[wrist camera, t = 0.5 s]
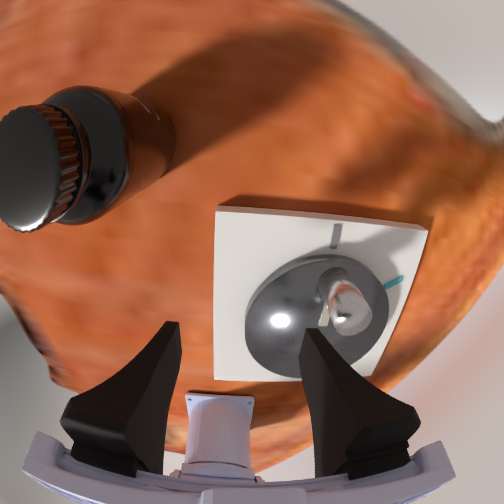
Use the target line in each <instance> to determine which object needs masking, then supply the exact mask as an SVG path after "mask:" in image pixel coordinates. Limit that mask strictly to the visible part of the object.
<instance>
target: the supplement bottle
mask: <svg viewBox="0 0 504 504" xmlns="http://www.w3.org/2000/svg"><path fill="white" fill-rule="evenodd" d="M174 149H175V133H174V128H173V125H172V122H171V120H170V118H169V117H168V115H167V114H166V112H165V111H164V110H163V109H162V108H161V107H160V106H158V105H157V104H155V103H154V102H152V101H150V100H147V99H144V98H140V97H137V96H133V95H129V94H125V93H121V92H116V91H112V90H107V89H103V88H98V87H92V86H72V87H68V88H65V89H62V90H60V91H58V92H56V93H55V94H53V95H51V96H50V97H49V98H47V99H46V100H45V101H44V102H43V103H42V104H39V105H29V106H20V107H18V108H17V109H15V110H11V111H10V112H9V114H8V115H5V116H4V117H3V119H2V120H1V121H0V218H1V220H2V221H3V222H5V223H6V224H7V225H8V227H12V228H13V229H14V230H15V231H18V230H19V231H20V232H22V233H25V232H33V231H35V230H39V229H41V228H43V227H44V226H46V225H48V224H50V223H54V222H57V223H60V224H64V225H74V226H76V225H83V224H87V223H90V222H92V221H94V220H96V219H98V218H100V217H102V216H103V215H105V214H106V213H108V212H109V211H111V210H112V209H114V208H115V207H117V206H118V205H120V204H121V203H123V202H124V201H126V200H127V199H129V198H131V197H132V196H134V195H135V194H137V193H138V192H140V191H142V190H143V189H145V188H146V187H148V186H149V185H151V184H152V183H154V182H155V181H156V180H158V179H159V178H160V177H161V176H162V175H163V173H164V172H165V171H166V169H167V168H168V166H169V164H170V162H171V160H172V157H173V154H174Z"/></svg>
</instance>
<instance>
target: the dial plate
mask: <svg viewBox="0 0 504 504" xmlns="http://www.w3.org/2000/svg"><path fill="white" fill-rule="evenodd" d="M427 235H428V230H426V229H425V228H423V227H422V226H420V225H417V224H410V223H402V222H395V221H387V220H379V219H371V218H363V217H354V216H345V215H335V214H325V213H315V212H304V211H292V210H280V209H267V208H253V207H237V206H220V205H217V209H216V215H215V245H214V312H213V328H214V380H231V381H268V382H276V381H302V378H290V377H285V376H281V375H278V374H275V373H273V372H271V371H268V370H267V369H265V368H264V367H262V366H261V365H260V364H259V363H257V362H256V360H255V359H254V358H253V357H252V355H251V354H250V352H249V350H248V348H247V345H246V341H245V312H246V308H247V305H248V303H249V301H250V299H251V297H252V295H253V293H254V292H255V290H256V289H257V288H258V286H259V285H260V284H261V283H262V282H263V281H264V280H265V279H266V278H267V277H269V276H270V275H271V274H272V273H273V272H275V271H276V270H278V269H280V268H281V267H283V266H285V265H287V264H289V263H291V262H293V261H296V260H299V259H301V258H305V257H309V256H314V255H322V254H333V255H341V256H345V257H349V258H352V259H354V260H357V261H359V262H361V263H362V264H364V265H365V266H367V267H368V268H369V269H370V270H371V271H372V272H373V273H374V275H375V276H376V277H377V279H378V280H379V281H380V283H381V284H382V285H383V287H384V289H385V291H386V293H387V296H388V300H389V316H388V321H387V324H386V327H385V329H384V331H383V333H382V335H381V337H380V338H379V340H378V341H377V343H376V344H375V345H374V346H373V348H372V349H371V350H370V351H369V352H368V353H367V354H365V355H364V356H363V357H362V358H361V359H359V360H358V361H356V362H355V363H353V364H352V365H350V366H351V367H352V368H353V369H354V370H355V371H356V372H358V373H359V374H360V375H361V376H362V377H363V376H371V375H372V373H373V371H374V369H375V367H376V365H377V363H378V361H379V359H380V357H381V355H382V353H383V351H384V349H385V347H386V345H387V343H388V341H389V338H390V336H391V334H392V332H393V330H394V327H395V325H396V323H397V320H398V318H399V316H400V313H401V311H402V308H403V306H404V303H405V301H406V298H407V296H408V293H409V290H410V288H411V285H412V282H413V279H414V276H415V273H416V270H417V268H418V264H419V261H420V258H421V255H422V252H423V249H424V245H425V242H426V238H427Z"/></svg>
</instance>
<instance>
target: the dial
mask: <svg viewBox="0 0 504 504" xmlns="http://www.w3.org/2000/svg"><path fill="white" fill-rule="evenodd" d="M388 316H389V300H388V296H387V293H386V291H385V289H384V287H383V285H382V284H381V283H380V281H379V280H378V279H377V277H376V276H375V275H374V273H373V272H372V271H371V270H370V269H369V268H368V267H367V266H365V265H364V264H362V263H361V262H359V261H357V260H354V259H352V258H349V257H345V256H341V255H333V254H322V255H314V256H309V257H305V258H301V259H299V260H296V261H293V262H291V263H289V264H287V265H285V266H283V267H281V268H280V269H278V270H276V271H275V272H273V273H272V274H271V275H270V276H269V277H267V278H266V279H265V280H264V281H263V282H262V283H261V284H260V285H259V286H258V288H257V289H256V290H255V292H254V293H253V295H252V297H251V299H250V301H249V303H248V305H247V308H246V312H245V341H246V345H247V348H248V350H249V352H250V354H251V355H252V357H253V358H254V359H255V360H256V362H257V363H259V364H260V365H261V366H262V367H264V368H265V369H267V370H268V371H271V372H273V373H275V374H278V375H281V376H285V377H290V378H301V374H300V366H299V353H300V349H301V345H302V342H303V338H304V334H305V330H306V328H318V329H319V330H320V331H321V333H322V334H323V335H324V336H325V338H326V339H327V340H328V341H329V343H330V344H331V345H332V346H333V347H334V349H335V350H336V351H337V352H338V353H339V354H340V355H341V357H342V358H343V359H344V360H345V361H346V362H347V363H348V364H349V365H352V364H353V363H355V362H356V361H358V360H359V359H361V358H362V357H363V356H364V355H365V354H367V353H368V352H369V351H370V350H371V349H372V348H373V346H374V345H375V344H376V343H377V341H378V340H379V338H380V337H381V335H382V333H383V331H384V329H385V327H386V324H387V321H388Z"/></svg>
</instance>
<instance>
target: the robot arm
mask: <svg viewBox="0 0 504 504" xmlns="http://www.w3.org/2000/svg"><path fill="white" fill-rule="evenodd" d="M181 355H182V347H181V338H180V328H179V322H172V321H166V322H165V323H164V324H163V326H162V327H161V328H160V330H159V331H158V332H157V333H156V335H155V336H154V337H153V338H152V339H151V340H150V342H149V343H148V344H147V345H146V346H145V347H144V348H143V349H142V350H141V352H140V353H139V354H138V355H137V356H136V357H135V358H134V359H133V360H131V361H130V362H129V363H128V364H127V365H126V366H125V367H123V368H122V369H121V370H120V371H119V372H117V373H116V374H114V375H113V376H112V377H110V378H109V379H107V380H106V381H104V382H103V383H101V384H99V385H98V386H96V387H94V388H92V389H90V390H88V391H86V392H84V393H82V394H79V395H77V396H75V397H72V398H71V399H70V400H69V402H68V404H67V406H66V408H65V410H64V412H63V415H62V417H61V419H60V423H61V426H62V427H63V429H64V430H65V431H66V432H67V434H68V435H69V436H70V437H71V438H72V439H73V441H74V444H73V447H72V449H71V450H69V449H67V448H65V446H64V445H63V444H62V443H61V442H59V441H58V440H57V439H55V438H53V437H50V436H48V435H46V434H44V433H42V432H39V431H36V433H35V436H34V438H33V440H32V443H31V445H30V448H29V450H28V453H27V455H26V458H25V460H24V463H23V466H22V471H23V472H24V473H26V474H27V475H28V476H30V477H31V478H33V479H34V480H35V481H37V482H38V483H40V484H41V485H43V486H44V487H46V488H47V489H49V490H51V491H53V492H55V493H57V494H59V495H61V496H64V497H66V498H68V499H70V500H72V501H75V502H77V503H79V504H408V503H411V502H413V501H415V500H418V499H420V498H422V497H425V496H427V495H429V494H431V493H432V492H434V491H435V490H437V489H439V488H440V487H442V486H443V485H445V484H446V483H448V482H449V481H451V480H452V479H454V478H455V477H456V475H455V472H454V470H453V467H452V465H451V462H450V460H449V458H448V455H447V453H446V451H445V448H444V446H443V444H442V442H441V441H437V442H435V443H432V444H429V445H427V446H425V447H422V448H421V449H419V450H418V451H417V452H416V453H415V454H414V455H412V456H409V454H408V451H407V448H408V447H409V444H408V441H407V440H408V439H409V438H410V437H411V436H412V435H413V434H414V433H415V432H416V431H417V429H418V428H419V427H420V424H421V421H420V419H419V416H418V414H417V412H416V410H415V408H414V407H413V406H410V405H408V404H406V403H404V402H401V401H399V400H397V399H395V398H393V397H391V396H390V395H388V394H386V393H385V392H383V391H381V390H380V389H378V388H377V387H375V386H374V385H373V384H371V383H370V382H368V381H367V380H366V379H365V378H363V377H362V376H361V375H360V374H359V373H358V372H356V371H355V370H354V369H353V368H352V367H351V366H350V365H349V364H348V363H347V362H346V361H345V360H344V359H343V358H342V357H341V355H340V354H339V353H338V352H337V351H336V350H335V349H334V347H333V346H332V345H331V344H330V343H329V341H328V340H327V339H326V338H325V336H324V335H323V334H322V333H321V331H320V330H319V329H318V328H306V330H305V334H304V338H303V342H302V345H301V349H300V353H299V366H300V374H301V378H302V382H303V386H304V390H305V394H306V398H307V402H308V406H309V410H310V415H311V423H312V431H313V442H314V455H315V478H312V479H304V480H294V481H281V482H265V481H264V480H262V478H261V477H260V476H255V473H254V469H251V460H250V425H251V420H252V414H253V407H254V401H255V399H254V397H252V396H229V395H212V394H200V393H186V395H185V398H186V404H187V410H188V415H189V429H188V437H187V445H186V454H185V463H182V469H181V470H174V472H172V473H170V475H169V476H165V475H163V457H164V445H165V435H166V426H167V418H168V411H169V406H170V402H171V399H172V395H173V391H174V387H175V384H176V380H177V376H178V373H179V369H180V362H181Z"/></svg>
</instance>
